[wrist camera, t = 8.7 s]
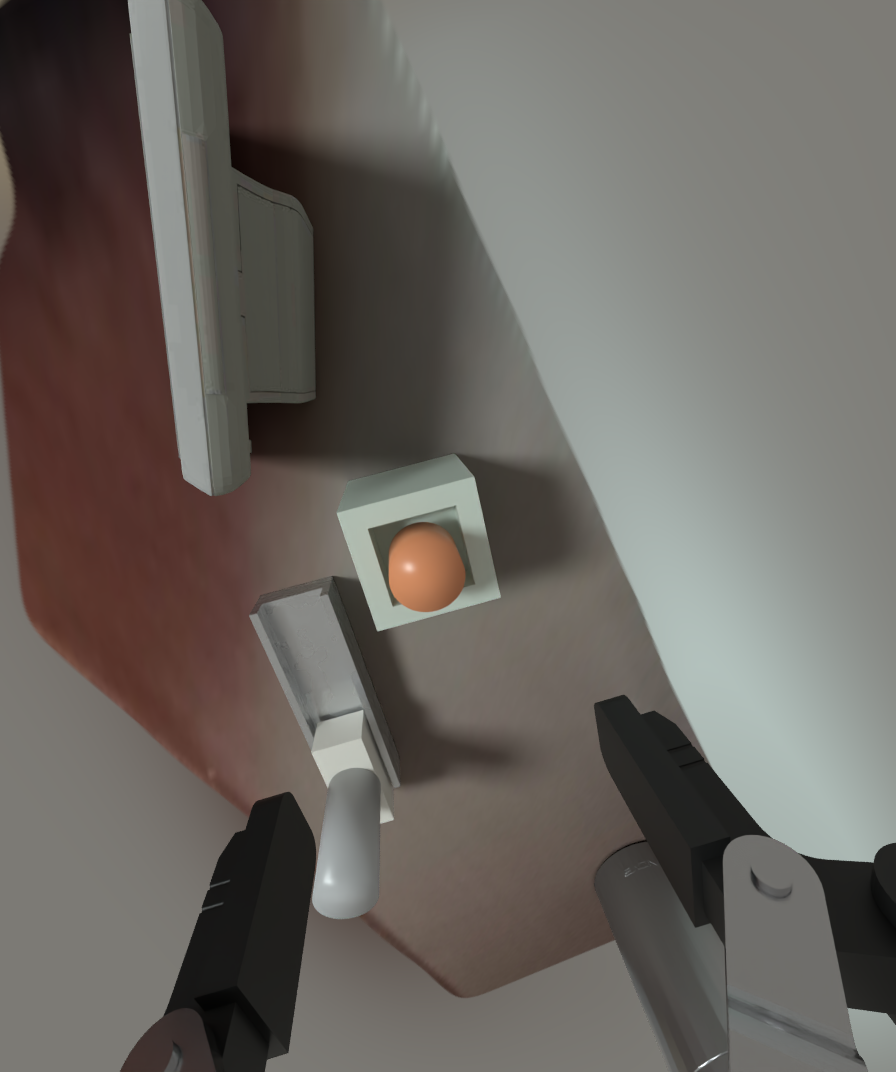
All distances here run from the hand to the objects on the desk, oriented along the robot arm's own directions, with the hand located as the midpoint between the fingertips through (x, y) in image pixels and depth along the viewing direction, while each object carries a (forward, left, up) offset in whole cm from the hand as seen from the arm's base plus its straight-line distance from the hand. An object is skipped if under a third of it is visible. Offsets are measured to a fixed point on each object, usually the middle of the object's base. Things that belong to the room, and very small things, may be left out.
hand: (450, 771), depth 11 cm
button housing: (0, 0, -20) cm, 20 cm away
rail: (-11, +9, -20) cm, 25 cm away
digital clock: (+14, +6, -21) cm, 26 cm away
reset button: (0, 0, -14) cm, 14 cm away
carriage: (-16, +9, -18) cm, 26 cm away
